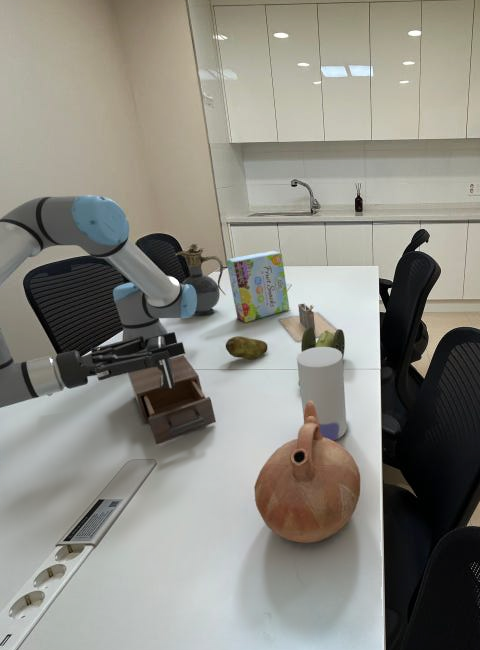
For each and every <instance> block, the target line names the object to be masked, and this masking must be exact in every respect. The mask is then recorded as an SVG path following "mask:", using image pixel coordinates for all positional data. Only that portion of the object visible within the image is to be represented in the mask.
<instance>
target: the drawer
mask: <svg viewBox="0 0 480 650" xmlns="http://www.w3.org/2000/svg"><path fill="white" fill-rule="evenodd" d="M143 398H144V401H145V405H146V408H147V411H148V414H149V417H148V419H149V422H148V423H149V425H150V428H151V431H152V434H153V438H154V441H155V443H156V445H159V444H161V443H164V442H167V441H169V440H172V439H174V438H175V439H176V438H178V437H180V436H183V435H185V434H187V433H190V432H194V431H196V430H199V429H201V428H205V427H206V426H209V425H211V424H215V423H216V422H217V421H216V416H215V411H214V407H213V403H212V399H211V397H210V396H207V397H206V396H205V394H204V392H203V390H202V391H201V390H200V388H199V387H198V386H197V384H196V383H195V381H194V380H190V381H187V382H184V383H181V384H177V385H175V386H174V387H172V388H167V389H161V390H158V391H155V392H152V393H148V394H145V395H143Z"/></svg>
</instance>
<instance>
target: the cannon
mask: <svg viewBox="0 0 480 650" xmlns="http://www.w3.org/2000/svg"><path fill="white" fill-rule="evenodd" d="M335 330H336V332H335V333H334V334H333V333H332V332H329V331H327V330H326V331H325V332H323V333H322V334H321V335H320V337H318V339H317V337H316V336H315V332H314V330H313V328H306V330H305V331H304V334H303V337H302V340H301V346H300V347H301V349H300V350H301V353H302V352H303V351H305V350H308V349H311V348H316V347H331V348H335V349H337V350H339V351H340V352H341V353H342V358H343V359H344V355H345V348H346V341H345V333H344V330H343V329H340V328H338V329H335ZM298 386H299V387H300V382H299V381H298Z"/></svg>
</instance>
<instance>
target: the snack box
mask: <svg viewBox="0 0 480 650" xmlns="http://www.w3.org/2000/svg"><path fill="white" fill-rule="evenodd" d="M225 262H226V266H227V267H226V268H227V272H228V277H229V282H230V287H231V293H232V298H233V303H234V307H235V308H234V309H235V313H236V317H237V319H239V320H241V321H242V322H243V323H245V324H246V323H249V322H251V321H256V320H258V319H262V318H265V317H268V316H271V315H275V314H279V313H281V312H285V311H288V310H290V304H289V303H290V302H289V296H288V289H287V282H286V281H287V280H286V274H285V267H284V266H285V265H284V261H283V253H282V252H279V251H275V250H269V251H263V252H258V253H253V254H247V255H243V256H237V257H232V258H228V259H225Z"/></svg>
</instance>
